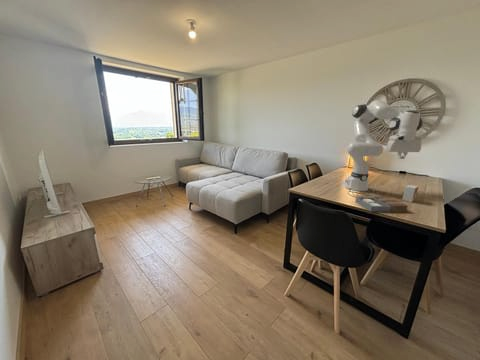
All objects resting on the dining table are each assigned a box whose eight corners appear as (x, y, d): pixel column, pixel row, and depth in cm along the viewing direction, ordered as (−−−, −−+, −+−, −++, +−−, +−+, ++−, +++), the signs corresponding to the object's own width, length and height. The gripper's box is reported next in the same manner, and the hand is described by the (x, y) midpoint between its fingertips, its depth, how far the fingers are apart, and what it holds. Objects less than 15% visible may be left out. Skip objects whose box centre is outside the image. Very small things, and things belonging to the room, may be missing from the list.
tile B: (377, 203, 128) (376, 206, 129) (369, 203, 128) (368, 206, 129) (382, 206, 124) (381, 209, 124) (374, 206, 123) (374, 209, 124)
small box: (411, 202, 139) (415, 188, 136) (401, 200, 143) (405, 186, 140) (415, 200, 143) (418, 186, 141) (405, 197, 148) (408, 184, 145)
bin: (355, 201, 138) (356, 197, 137) (372, 202, 138) (373, 197, 138) (370, 211, 123) (371, 206, 122) (389, 211, 123) (391, 206, 122)
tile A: (369, 198, 136) (369, 202, 137) (362, 198, 136) (362, 202, 136) (374, 201, 131) (374, 205, 132) (367, 201, 131) (366, 205, 132)
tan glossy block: (373, 202, 139) (374, 196, 137) (387, 202, 139) (388, 196, 138) (390, 211, 123) (392, 205, 122) (406, 211, 123) (407, 205, 122)
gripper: (417, 137, 128) (412, 158, 132) (387, 136, 128) (382, 157, 131) (426, 137, 122) (420, 159, 126) (394, 137, 122) (389, 159, 125)
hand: (401, 158), depth 129 cm, fingers closed
